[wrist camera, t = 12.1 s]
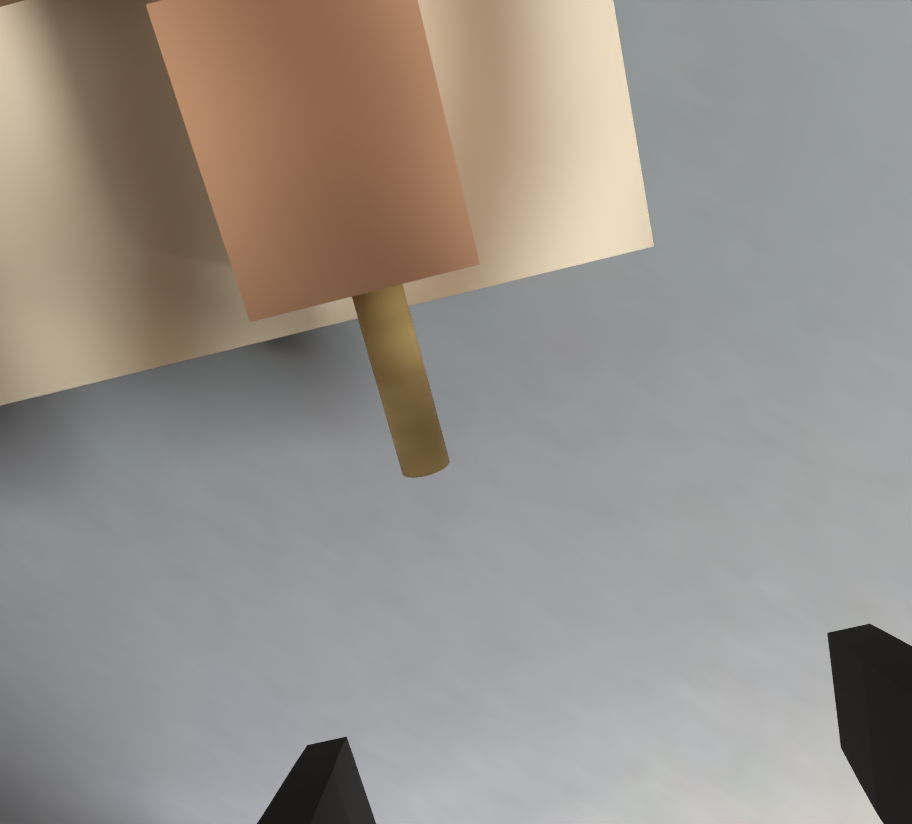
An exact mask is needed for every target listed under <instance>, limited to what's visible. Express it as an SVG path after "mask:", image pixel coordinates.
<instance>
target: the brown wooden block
mask: <svg viewBox="0 0 912 824" xmlns="http://www.w3.org/2000/svg"><path fill="white" fill-rule="evenodd" d="M146 7H147V10H148V13H149V16H150V19H151V22H152V25H153V29H154V32H155V35H156V38H157V41H158V44H159V47H160V50H161V53H162V56H163V59H164V62H165V65H166V68H167V71H168V74H169V77H170V80H171V83H172V86H173V90H174V93H175V96H176V99H177V102H178V105H179V108H180V111H181V114H182V117H183V120H184V123H185V126H186V129H187V132H188V135H189V138H190V141H191V144H192V147H193V151H194V154H195V157H196V160H197V163H198V166H199V169H200V172H201V175H202V178H203V181H204V184H205V187H206V190H207V193H208V196H209V199H210V202H211V205H212V208H213V212H214V215H215V218H216V221H217V224H218V227H219V230H220V233H221V236H222V239H223V242H224V245H225V248H226V251H227V254H228V257H229V260H230V263H231V266H232V270H233V273H234V276H235V279H236V282H237V285H238V288H239V291H240V294H241V297H242V300H243V303H244V306H245V309H246V312H247V315H248V318H249V321H250V322H253V321H257V320H261V319H265V318H269V317H273V316H277V315H281V314H285V313H289V312H293V311H297V310H301V309H305V308H309V307H313V306H317V305H320V304H324V303H328V302H332V301H336V300H340V299H344V298H348V297H352V299H353V303H354V306H355V310H356V313H357V317H358V320H359V324H360V327H361V331H362V334H363V338H364V341H365V345H366V348H367V352H368V355H369V359H370V362H371V366H372V369H373V373H374V376H375V380H376V383H377V386H378V390H379V393H380V397H381V400H382V404H383V407H384V411H385V414H386V418H387V421H388V425H389V428H390V432H391V435H392V439H393V442H394V446H395V449H396V453H397V456H398V460H399V463H400V467H401V470H402V474H403V475H404V476H406V477H411V478H415V477H423V476H427V475H431V474H433V473H436V472H438V471H440V470H442V469H444V468H445V467H446V466H447V465H448V464H449V462H450V461H449V457H448V453H447V450H446V446H445V442H444V438H443V435H442V431H441V427H440V423H439V420H438V416H437V412H436V408H435V405H434V401H433V397H432V393H431V390H430V386H429V382H428V378H427V375H426V371H425V367H424V363H423V360H422V356H421V352H420V348H419V345H418V341H417V337H416V333H415V330H414V326H413V322H412V318H411V315H410V311H409V307H408V303H407V300H406V296H405V292H404V288H403V285H402V284H404V283H408V282H412V281H416V280H420V279H424V278H428V277H432V276H436V275H440V274H444V273H448V272H452V271H456V270H460V269H464V268H468V267H472V266H476V265H480V262H479V258H478V254H477V249H476V245H475V241H474V237H473V232H472V228H471V224H470V220H469V216H468V211H467V207H466V203H465V199H464V194H463V190H462V186H461V182H460V177H459V173H458V169H457V165H456V160H455V156H454V152H453V148H452V144H451V139H450V135H449V131H448V127H447V122H446V118H445V114H444V110H443V105H442V101H441V97H440V93H439V88H438V84H437V80H436V76H435V72H434V67H433V63H432V59H431V55H430V50H429V46H428V42H427V38H426V33H425V29H424V25H423V21H422V16H421V12H420V8H419V4H418V0H161V1H157V2H154V3H150V4H146Z"/></svg>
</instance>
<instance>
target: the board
mask: <svg viewBox="0 0 912 824" xmlns="http://www.w3.org/2000/svg"><path fill="white" fill-rule="evenodd" d="M157 1H161V0H0V406H1V405H5V404H9V403H13V402H17V401H21V400H25V399H29V398H33V397H38V396H42V395H46V394H50V393H54V392H58V391H62V390H66V389H70V388H74V387H79V386H83V385H87V384H91V383H95V382H99V381H103V380H107V379H111V378H115V377H120V376H124V375H128V374H132V373H136V372H140V371H144V370H148V369H152V368H156V367H161V366H165V365H169V364H173V363H177V362H181V361H185V360H189V359H193V358H197V357H202V356H206V355H210V354H214V353H218V352H222V351H226V350H230V349H234V348H238V347H243V346H247V345H251V344H255V343H259V342H263V341H267V340H271V339H275V338H279V337H284V336H288V335H292V334H296V333H300V332H304V331H308V330H312V329H316V328H320V327H325V326H329V325H333V324H337V323H341V322H345V321H349V320H353V319H357V318H358V317H357V313H356V310H355V306H354V303H353V299H352V297H348V298H344V299H340V300H336V301H332V302H328V303H324V304H320V305H317V306H313V307H309V308H305V309H301V310H297V311H293V312H289V313H285V314H281V315H277V316H273V317H269V318H265V319H261V320H257V321H253V322H250V321H249V318H248V315H247V312H246V309H245V306H244V303H243V300H242V297H241V294H240V291H239V288H238V285H237V282H236V279H235V276H234V273H233V270H232V266H231V263H230V260H229V257H228V254H227V251H226V248H225V245H224V242H223V239H222V236H221V233H220V230H219V227H218V224H217V221H216V218H215V215H214V212H213V208H212V205H211V202H210V199H209V196H208V193H207V190H206V187H205V184H204V181H203V178H202V175H201V172H200V169H199V166H198V163H197V160H196V157H195V154H194V151H193V147H192V144H191V141H190V138H189V135H188V132H187V129H186V126H185V123H184V120H183V117H182V114H181V111H180V108H179V105H178V102H177V99H176V96H175V93H174V90H173V86H172V83H171V80H170V77H169V74H168V71H167V68H166V65H165V62H164V59H163V56H162V53H161V50H160V47H159V44H158V41H157V38H156V35H155V32H154V29H153V25H152V22H151V19H150V16H149V13H148V10H147V7H146V4H150V3H154V2H157ZM418 4H419V8H420V12H421V16H422V21H423V25H424V29H425V33H426V38H427V42H428V46H429V50H430V55H431V59H432V63H433V67H434V72H435V76H436V80H437V84H438V88H439V93H440V97H441V101H442V105H443V110H444V114H445V118H446V122H447V127H448V131H449V135H450V139H451V144H452V148H453V152H454V156H455V160H456V165H457V169H458V173H459V177H460V182H461V186H462V190H463V194H464V199H465V203H466V207H467V211H468V216H469V220H470V224H471V228H472V232H473V237H474V241H475V245H476V249H477V254H478V258H479V262H480V265H476V266H472V267H468V268H464V269H460V270H456V271H452V272H448V273H444V274H440V275H436V276H432V277H428V278H424V279H420V280H416V281H412V282H408V283H404V284H402V285H403V288H404V292H405V296H406V300H407V303H408V306H411V305H415V304H419V303H423V302H427V301H431V300H435V299H439V298H443V297H448V296H452V295H456V294H460V293H464V292H468V291H472V290H476V289H480V288H484V287H489V286H493V285H497V284H501V283H505V282H509V281H513V280H517V279H521V278H525V277H530V276H534V275H538V274H542V273H546V272H550V271H554V270H558V269H562V268H566V267H571V266H575V265H579V264H583V263H587V262H591V261H595V260H599V259H603V258H607V257H612V256H616V255H620V254H624V253H628V252H632V251H636V250H640V249H644V248H648V247H653V246H654V244H653V238H652V232H651V226H650V220H649V214H648V208H647V202H646V196H645V190H644V184H643V178H642V172H641V166H640V160H639V154H638V147H637V141H636V135H635V129H634V123H633V117H632V111H631V105H630V99H629V93H628V87H627V81H626V75H625V69H624V63H623V57H622V51H621V45H620V39H619V33H618V27H617V21H616V14H615V8H614V2H613V0H418Z"/></svg>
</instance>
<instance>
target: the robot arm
mask: <svg viewBox="0 0 912 824" xmlns="http://www.w3.org/2000/svg"><path fill="white" fill-rule="evenodd" d="M828 642H829V650H830V659H831V667H832V675H833V684H834V692H835V701H836V709H837V718H838V726H839V734H840V743H841V749H842V750H843V752H844V754H845V756H846V758H847V760H848V762H849V764H850V765H851V767H852V769H853V771H854V773H855V775H856V777H857V778H858V780H859V782H860V784H861V786H862V788H863V789H864V791H865V793H866V795H867V797H868V798H869V800H870V802H871V804H872V805H873V807H874V809H875V811H876V812H877V814H878V816H879V817H880V819H881V820H882V822H883V823H884V824H912V646H910V645H908V644H907V643H905V642H903V641H901V640H899V639H898V638H896V637H894V636H892V635H890V634H888V633H886V632H885V631H883V630H881V629H879V628H877V627H875V626H873V625H871V624H867V625H862V626H857V627H853V628H848V629H844V630H839V631H834V632H830V633H828ZM257 824H376V822H375V819H374V816H373V814H372V811H371V808H370V805H369V802H368V799H367V796H366V793H365V790H364V787H363V784H362V781H361V778H360V775H359V772H358V769H357V766H356V763H355V760H354V757H353V754H352V751H351V748H350V746H349V743H348V740H347V737H343V738H339V739H334V740H329V741H325V742H320V743H315V744H311V745H307V747H306V748H305V750H304V751H303V753H302V754H301V756H300V757H299V759H298V760H297V762H296V763H295V765H294V766H293V768H292V770H291V771H290V773H289V774H288V776H287V777H286V779H285V781H284V782H283V784H282V785H281V787H280V789H279V790H278V792H277V793H276V795H275V796H274V798H273V800H272V801H271V803H270V804H269V806H268V807H267V809H266V811H265V812H264V814H263V815H262V817H261V818H260V820H259V822H258V823H257Z"/></svg>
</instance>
